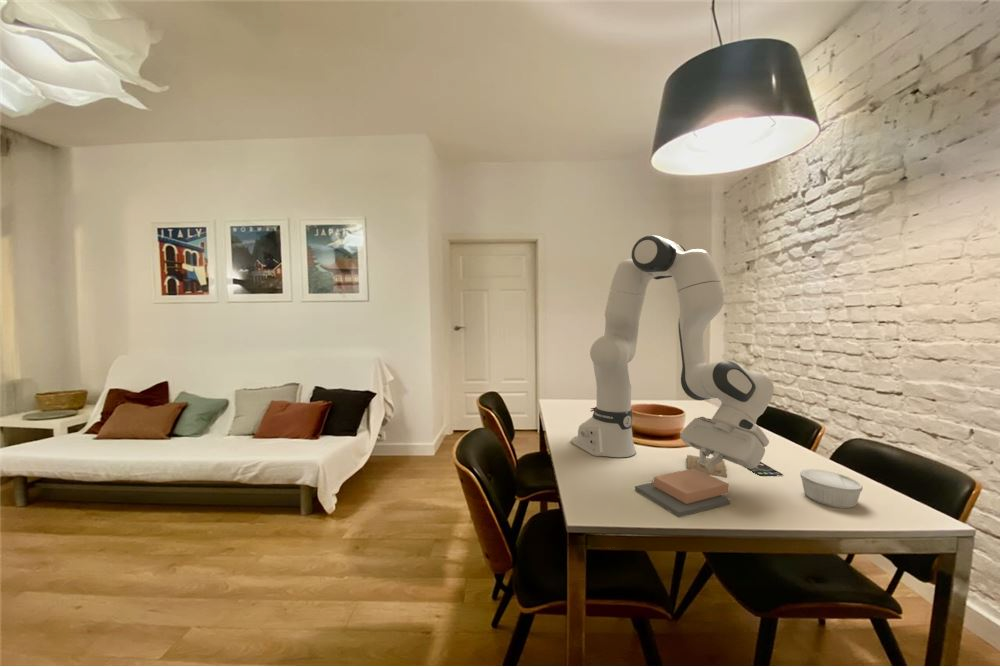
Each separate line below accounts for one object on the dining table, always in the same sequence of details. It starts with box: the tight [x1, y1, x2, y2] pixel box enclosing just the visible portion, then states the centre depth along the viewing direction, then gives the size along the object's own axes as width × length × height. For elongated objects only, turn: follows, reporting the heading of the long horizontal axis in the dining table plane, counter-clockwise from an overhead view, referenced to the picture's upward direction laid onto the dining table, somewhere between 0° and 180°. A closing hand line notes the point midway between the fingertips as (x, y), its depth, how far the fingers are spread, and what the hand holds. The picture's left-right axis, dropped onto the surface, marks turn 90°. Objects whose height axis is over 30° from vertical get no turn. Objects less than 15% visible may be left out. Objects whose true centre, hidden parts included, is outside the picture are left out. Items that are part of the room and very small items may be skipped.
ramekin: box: [799, 468, 863, 509], centre depth 90 cm, size 11×11×5 cm
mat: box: [634, 481, 731, 518], centre depth 92 cm, size 14×16×1 cm
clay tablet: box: [686, 454, 728, 479], centre depth 110 cm, size 14×10×3 cm
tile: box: [653, 469, 730, 504], centre depth 93 cm, size 10×3×14 cm
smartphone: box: [744, 461, 784, 477], centre depth 111 cm, size 7×1×15 cm
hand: (702, 466), depth 94 cm, fingers closed
